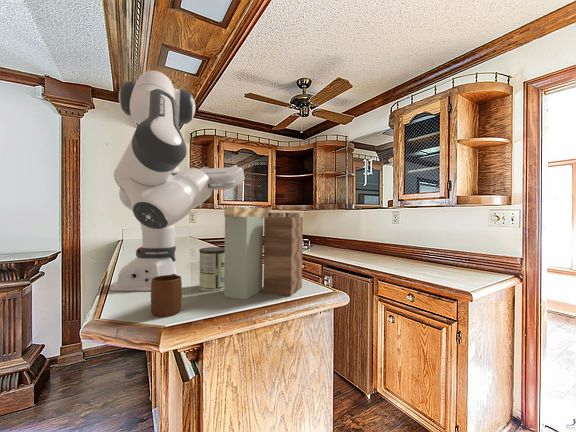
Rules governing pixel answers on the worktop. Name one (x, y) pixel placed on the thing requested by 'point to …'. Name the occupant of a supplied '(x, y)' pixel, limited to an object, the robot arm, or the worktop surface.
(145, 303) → the worktop surface
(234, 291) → the shelf block
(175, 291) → the mug
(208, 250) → the coffee can
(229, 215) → the tan wooden bar
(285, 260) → the brown wooden block
